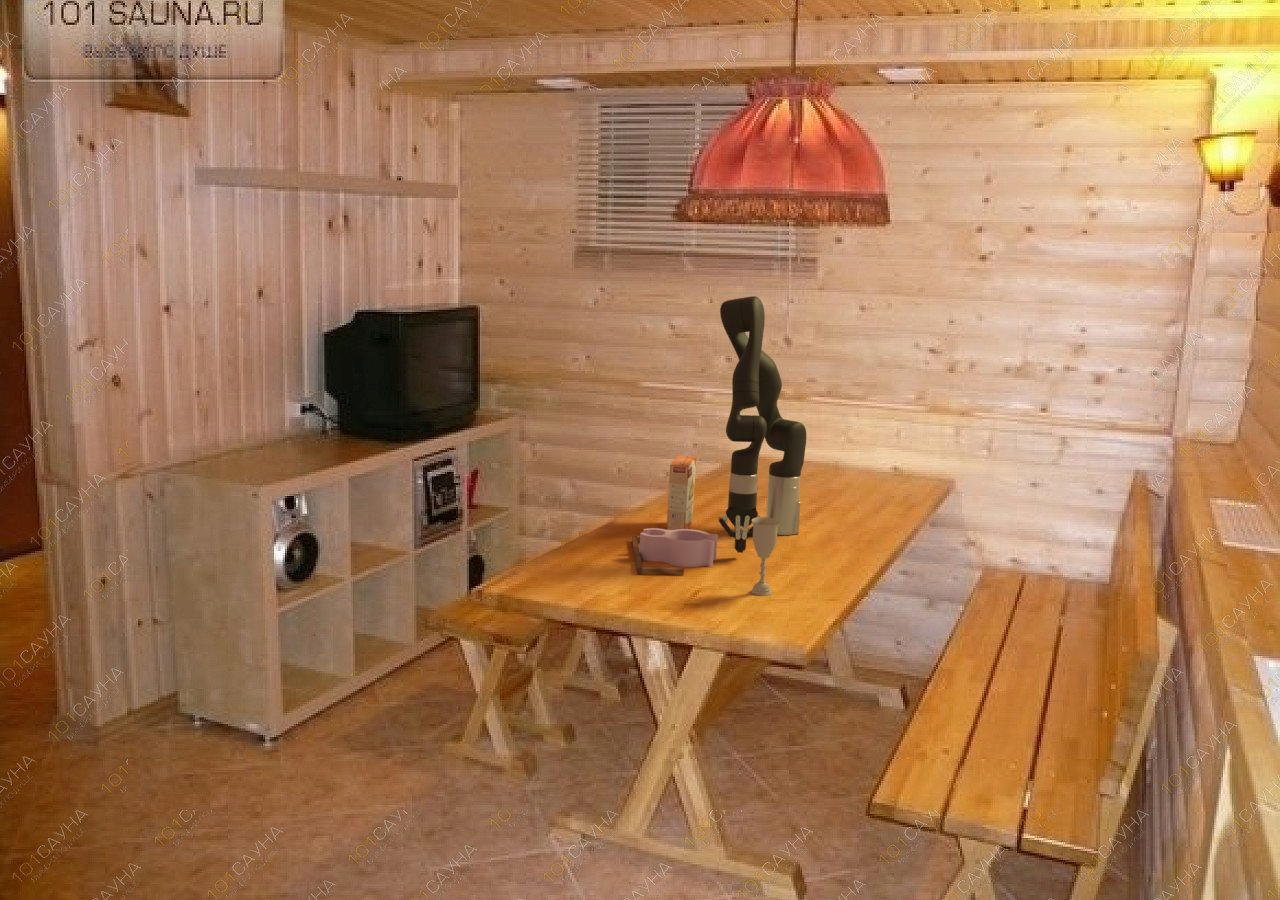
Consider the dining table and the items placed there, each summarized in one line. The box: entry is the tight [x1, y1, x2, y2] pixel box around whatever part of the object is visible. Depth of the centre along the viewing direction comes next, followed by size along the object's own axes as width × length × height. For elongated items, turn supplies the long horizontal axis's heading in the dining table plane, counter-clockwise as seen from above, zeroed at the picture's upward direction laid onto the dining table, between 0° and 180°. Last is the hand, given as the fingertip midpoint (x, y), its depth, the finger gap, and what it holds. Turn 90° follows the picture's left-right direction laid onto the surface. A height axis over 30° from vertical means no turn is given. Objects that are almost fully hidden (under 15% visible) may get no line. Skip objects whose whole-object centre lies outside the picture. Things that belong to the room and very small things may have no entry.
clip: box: [639, 527, 718, 568], centre depth 288 cm, size 20×12×7 cm, turn 78°
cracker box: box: [666, 455, 697, 530], centre depth 315 cm, size 14×6×21 cm, turn 168°
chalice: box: [750, 516, 780, 597], centre depth 263 cm, size 7×7×18 cm
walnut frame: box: [631, 535, 685, 576], centre depth 289 cm, size 12×30×2 cm, turn 3°
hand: (739, 551), depth 291 cm, fingers closed
